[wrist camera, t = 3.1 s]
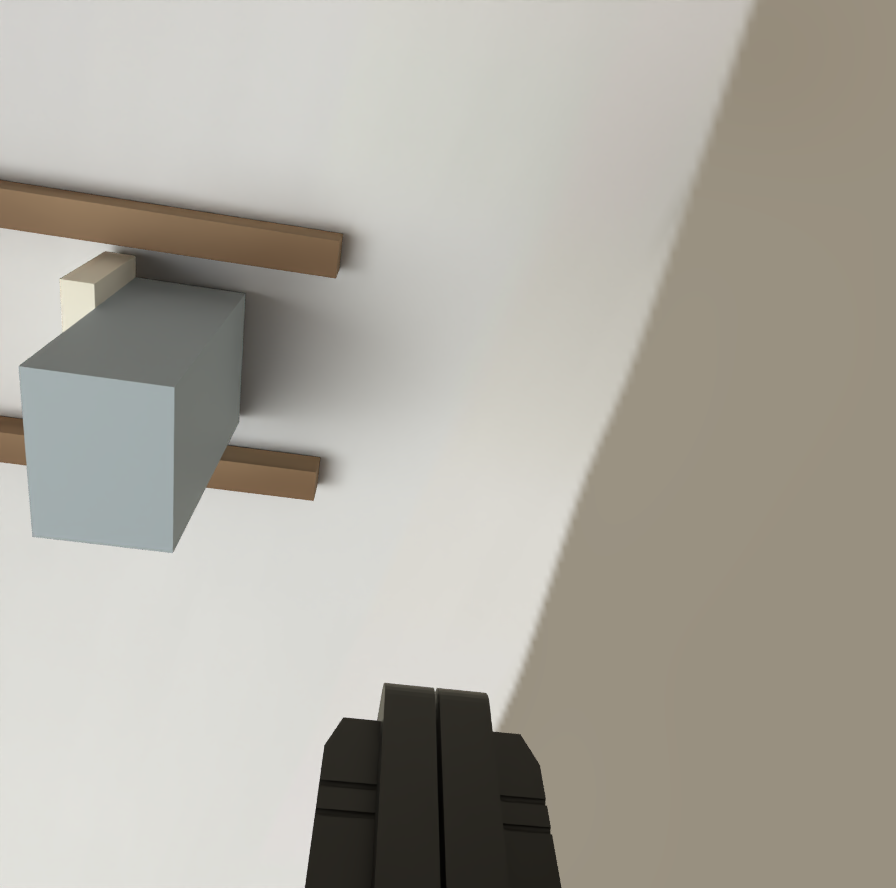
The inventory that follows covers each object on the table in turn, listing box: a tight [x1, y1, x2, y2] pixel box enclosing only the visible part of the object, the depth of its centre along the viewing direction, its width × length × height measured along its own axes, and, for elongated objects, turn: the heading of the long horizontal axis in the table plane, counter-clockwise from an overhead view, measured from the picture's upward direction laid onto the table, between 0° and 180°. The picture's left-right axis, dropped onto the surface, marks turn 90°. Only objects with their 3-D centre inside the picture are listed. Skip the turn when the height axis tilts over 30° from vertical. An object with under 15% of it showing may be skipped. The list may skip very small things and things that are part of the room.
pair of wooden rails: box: [0, 180, 343, 501], centre depth 22 cm, size 8×18×1 cm, turn 81°
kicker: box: [19, 251, 245, 553], centre depth 19 cm, size 5×4×7 cm
